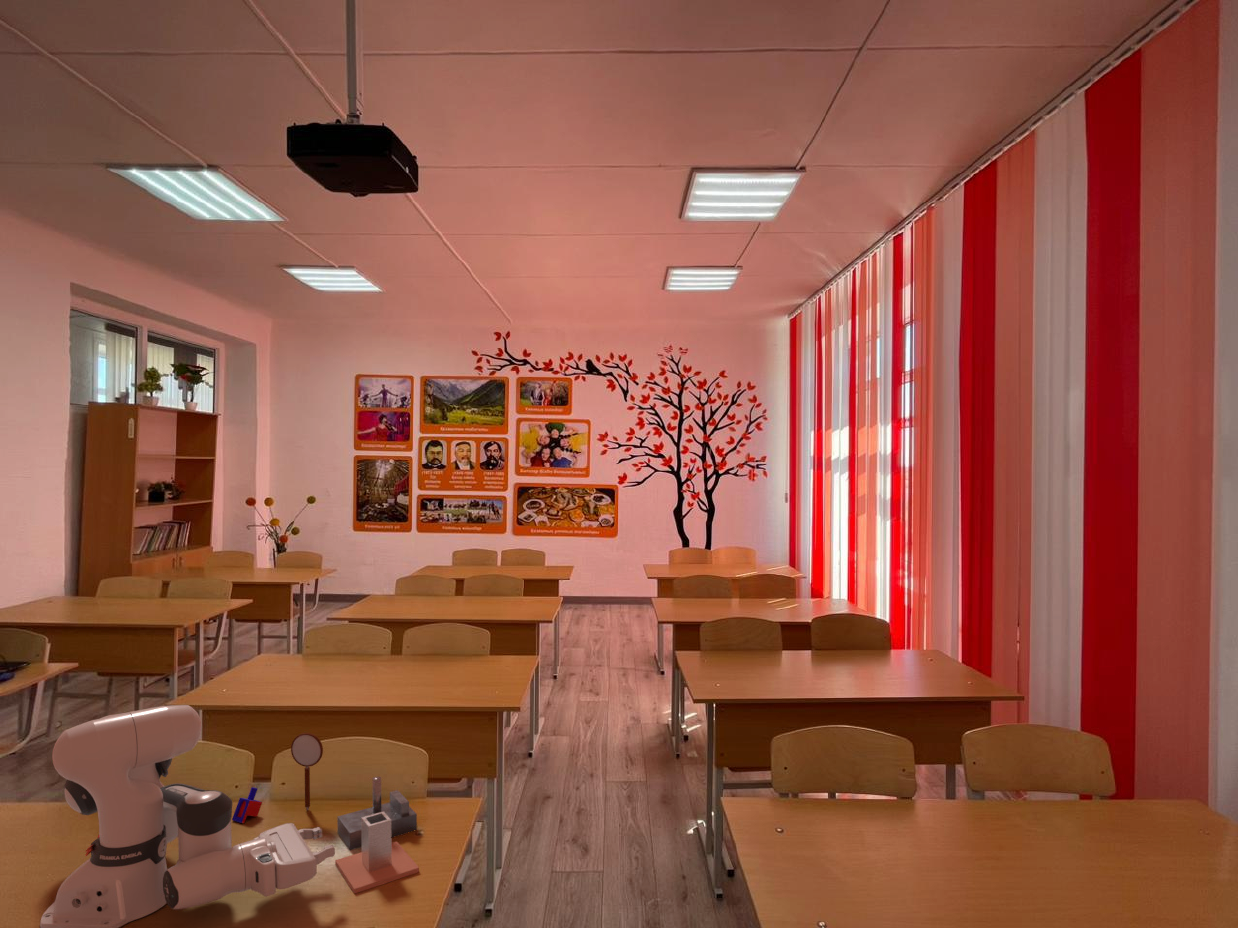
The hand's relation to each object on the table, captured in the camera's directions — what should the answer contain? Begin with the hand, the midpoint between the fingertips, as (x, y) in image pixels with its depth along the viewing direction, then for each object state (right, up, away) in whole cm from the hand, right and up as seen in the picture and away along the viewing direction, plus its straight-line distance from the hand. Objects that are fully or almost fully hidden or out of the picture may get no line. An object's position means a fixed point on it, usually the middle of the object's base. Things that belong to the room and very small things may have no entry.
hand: (327, 840), depth 163 cm
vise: (+4, -9, +22) cm, 24 cm away
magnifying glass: (-18, -9, +34) cm, 39 cm away
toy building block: (-32, -9, +30) cm, 45 cm away
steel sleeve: (+9, -8, +6) cm, 13 cm away
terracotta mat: (+9, -9, +6) cm, 14 cm away
